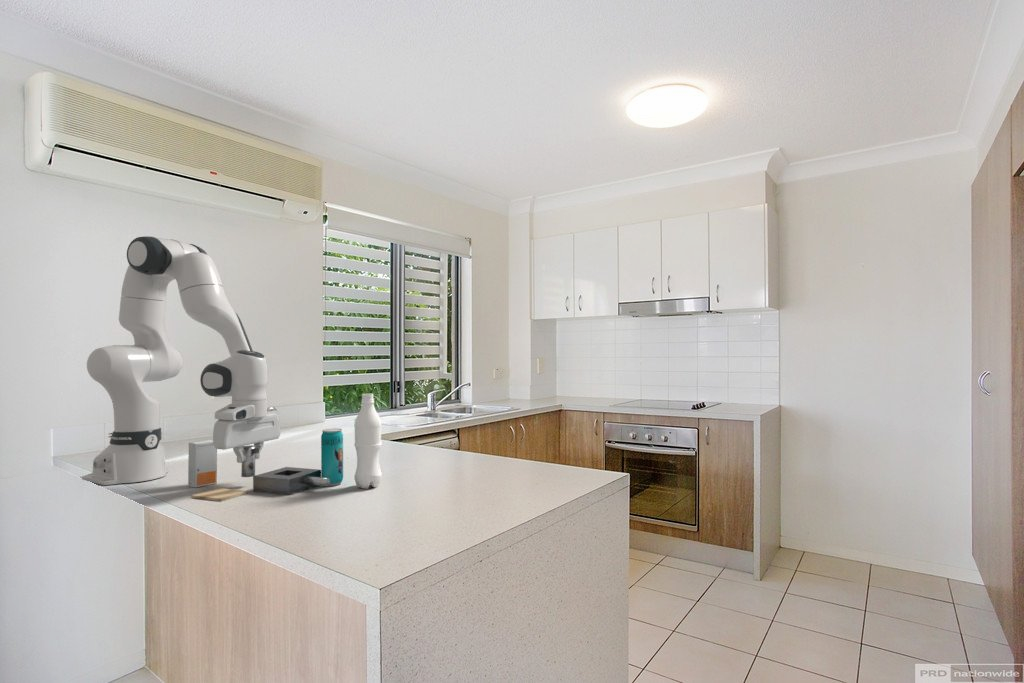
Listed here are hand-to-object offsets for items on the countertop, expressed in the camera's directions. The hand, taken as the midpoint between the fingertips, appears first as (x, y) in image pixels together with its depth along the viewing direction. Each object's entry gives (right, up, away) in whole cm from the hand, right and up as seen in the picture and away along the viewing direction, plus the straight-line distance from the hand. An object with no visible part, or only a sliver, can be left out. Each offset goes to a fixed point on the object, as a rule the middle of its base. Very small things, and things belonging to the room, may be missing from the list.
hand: (248, 460), depth 151 cm
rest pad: (-3, -7, -10) cm, 12 cm away
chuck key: (0, -4, 0) cm, 4 cm away
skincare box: (-13, -7, +2) cm, 15 cm away
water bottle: (+33, -7, -2) cm, 34 cm away
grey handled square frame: (+15, -7, -4) cm, 17 cm away
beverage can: (+23, -7, +1) cm, 24 cm away
